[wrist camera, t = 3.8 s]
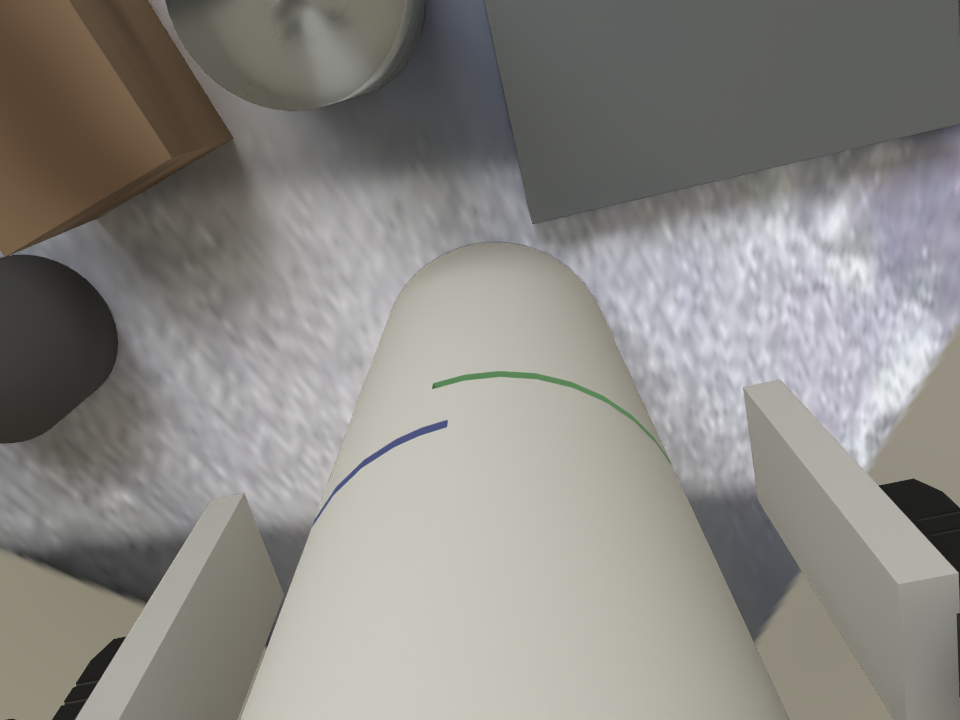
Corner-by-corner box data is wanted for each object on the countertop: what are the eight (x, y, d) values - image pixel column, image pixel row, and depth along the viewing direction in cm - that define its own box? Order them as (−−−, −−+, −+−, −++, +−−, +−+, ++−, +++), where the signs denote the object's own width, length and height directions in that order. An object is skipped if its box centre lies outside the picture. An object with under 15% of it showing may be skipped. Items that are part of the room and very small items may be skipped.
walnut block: (97, 218, 24) (5, 257, 20) (-13, 63, 23) (-141, 64, 18) (234, 137, 23) (171, 157, 19) (130, -29, 22) (33, -53, 17)
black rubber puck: (2, 416, 27) (-55, 459, 24) (-68, 274, 25) (-138, 301, 22) (142, 384, 26) (102, 423, 23) (81, 237, 24) (28, 260, 22)
